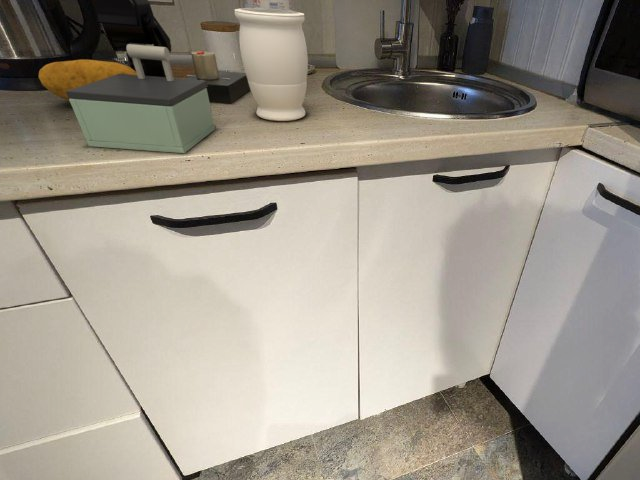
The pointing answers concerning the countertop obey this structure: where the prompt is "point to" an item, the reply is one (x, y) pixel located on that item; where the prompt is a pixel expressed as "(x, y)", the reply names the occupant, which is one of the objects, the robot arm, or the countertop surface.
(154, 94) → the box lid
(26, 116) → the countertop surface
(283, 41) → the jar
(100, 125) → the green box
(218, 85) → the block
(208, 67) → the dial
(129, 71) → the potato
